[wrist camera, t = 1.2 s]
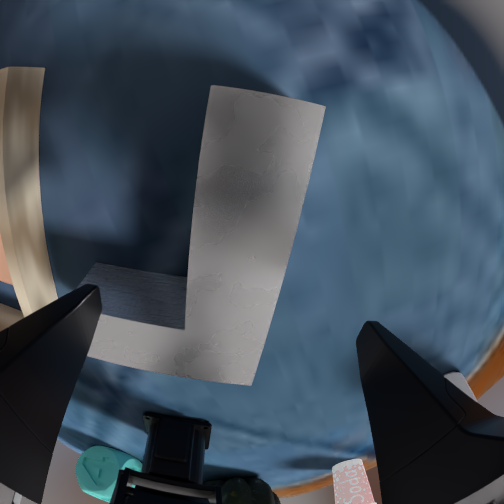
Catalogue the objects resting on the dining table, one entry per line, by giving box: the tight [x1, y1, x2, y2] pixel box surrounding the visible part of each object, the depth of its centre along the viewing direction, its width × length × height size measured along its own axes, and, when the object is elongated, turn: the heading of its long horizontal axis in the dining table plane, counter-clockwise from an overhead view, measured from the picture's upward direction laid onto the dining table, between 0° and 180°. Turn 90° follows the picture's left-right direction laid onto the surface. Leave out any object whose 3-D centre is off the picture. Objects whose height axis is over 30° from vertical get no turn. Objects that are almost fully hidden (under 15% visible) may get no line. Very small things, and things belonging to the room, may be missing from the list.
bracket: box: [76, 85, 326, 385], centre depth 12 cm, size 13×10×4 cm
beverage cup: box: [332, 459, 377, 504], centre depth 26 cm, size 6×6×14 cm
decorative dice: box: [76, 445, 142, 502], centre depth 27 cm, size 8×8×8 cm
